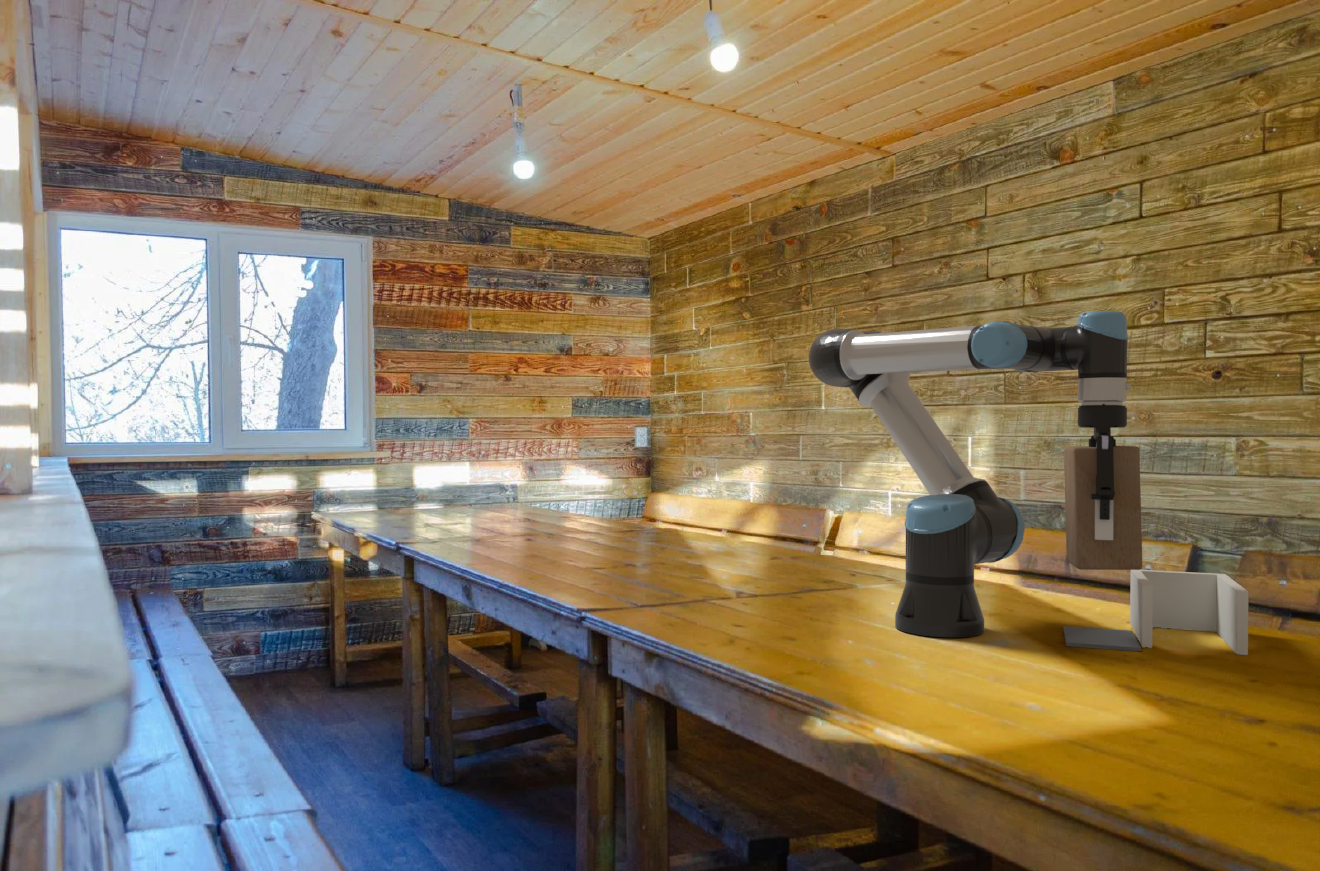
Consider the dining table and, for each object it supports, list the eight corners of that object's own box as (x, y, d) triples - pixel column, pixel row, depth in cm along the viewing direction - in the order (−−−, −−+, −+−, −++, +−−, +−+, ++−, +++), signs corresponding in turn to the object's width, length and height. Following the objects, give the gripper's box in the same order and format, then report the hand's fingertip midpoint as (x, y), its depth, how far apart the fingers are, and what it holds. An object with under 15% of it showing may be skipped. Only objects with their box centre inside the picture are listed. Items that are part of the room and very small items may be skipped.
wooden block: (1143, 570, 158) (1140, 446, 158) (1077, 569, 160) (1073, 448, 160) (1128, 561, 168) (1125, 445, 168) (1066, 561, 170) (1063, 446, 170)
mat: (1066, 645, 160) (1066, 642, 160) (1063, 629, 173) (1063, 625, 173) (1140, 651, 156) (1140, 647, 156) (1132, 634, 169) (1132, 630, 169)
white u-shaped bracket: (1141, 647, 159) (1142, 585, 159) (1130, 624, 177) (1130, 569, 177) (1247, 655, 154) (1248, 591, 154) (1224, 630, 172) (1225, 574, 172)
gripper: (1133, 402, 152) (1133, 544, 152) (1120, 405, 173) (1120, 530, 174) (1081, 402, 155) (1080, 542, 155) (1074, 405, 176) (1074, 528, 176)
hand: (1101, 536), depth 164 cm, fingers closed on wooden block, 10 cm apart
